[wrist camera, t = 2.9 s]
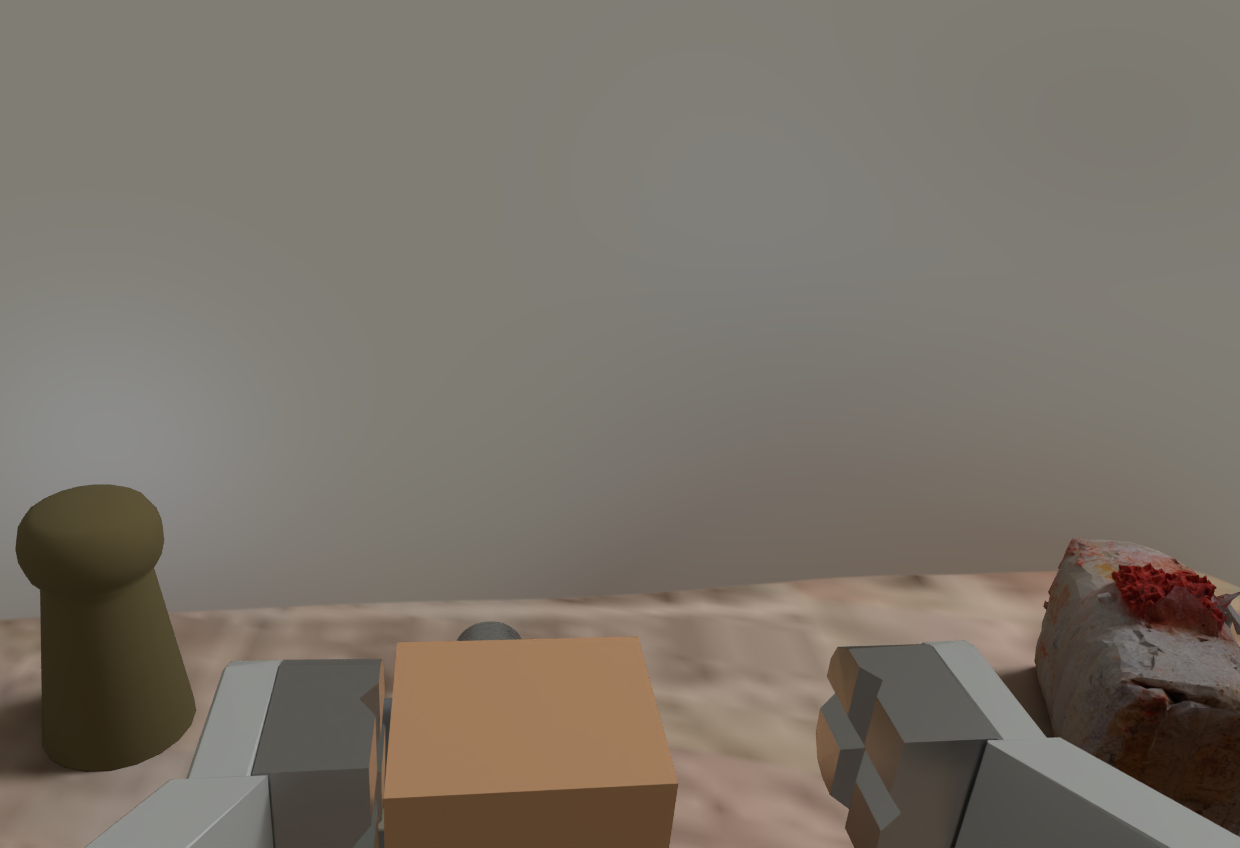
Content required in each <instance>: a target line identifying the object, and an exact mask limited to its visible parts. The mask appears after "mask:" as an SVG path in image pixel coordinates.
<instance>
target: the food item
mask: <svg viewBox="0 0 1240 848" xmlns="http://www.w3.org/2000/svg"><path fill="white" fill-rule="evenodd" d="M1058 569H1059V570H1058V573H1057V576H1056V577H1055V579H1054V581H1053V583H1052V585H1051V587H1050V589H1049V591H1048V593H1049V595H1050V598H1049V601H1048V602H1046V601H1045V603H1044V608H1045V609H1046V613H1045V616H1044V619H1043V622H1042V631H1041V633H1040V636H1039V638H1038V642H1037V646H1036V654H1035V664H1036V670H1037V677H1038V681H1039V685H1040V688H1041V691H1042V695H1043V697H1044V700H1045V703H1046V706H1047V709H1048V713H1049V717H1050V721H1051V724H1052V730H1053V734H1054V738H1058V737H1060V738H1062V739H1064V740H1065V741H1067V742H1069V743H1071V744H1073V745H1074V746H1076V747H1078V748H1080V749H1082V750H1083V751H1085V752H1087V753H1089V754H1091V755H1092V756H1094V757H1096V758H1098V759H1100V760H1101V761H1103V762H1105V763H1107V764H1109V765H1110V766H1112V767H1114V768H1116V769H1118V770H1120V771H1121V772H1123V773H1125V774H1127V775H1129V776H1130V777H1132V778H1134V779H1136V780H1138V781H1139V782H1141V783H1143V784H1145V785H1147V786H1148V787H1150V788H1152V789H1154V790H1156V791H1157V792H1159V793H1161V794H1163V795H1165V796H1166V797H1168V798H1170V799H1172V800H1174V801H1175V802H1177V803H1179V804H1181V805H1183V806H1184V807H1186V808H1188V809H1190V810H1192V811H1193V812H1195V813H1197V814H1199V815H1201V816H1202V817H1204V818H1206V819H1208V820H1210V821H1211V822H1213V823H1215V824H1217V825H1219V826H1220V827H1222V828H1224V829H1226V830H1228V831H1229V832H1231V833H1233V834H1235V835H1237V836H1239V837H1240V647H1239V645H1238V643H1237V642H1236V640H1235V638H1234V637H1233V635H1232V633H1231V631H1230V628H1231V624H1232V622H1233V624H1234V627H1235V630H1236V633H1237V634H1239V635H1240V617H1239V615H1238V614H1237V613H1236V611H1235V610H1234V609H1233V607H1232V606H1231V605H1230V603H1231V601H1232V600H1233V599H1234V598H1236V597H1237V596H1238V595H1240V592H1238V593H1235V594H1232V595H1231V594H1224V595H1221V596H1218V597H1216V596H1215V595H1214V590H1215V589H1216V586H1214V585H1213V584H1211V582H1210V581H1209V580H1208V581H1207V577H1206V576H1204V577H1203V578H1201V577H1199V575H1197V574H1196V573H1195V572H1194V571H1193V570H1192V569H1191V568H1188V567H1186V566H1185V565H1183V564H1182V563H1181V562H1179V561H1178V560H1176V559H1174V558H1172V557H1170V556H1168V555H1166V554H1164V553H1162V552H1159V551H1157V550H1154V549H1151V548H1148V547H1145V546H1142V545H1137V544H1134V543H1130V542H1127V541H1109V540H1085V539H1078V538H1077V539H1076V538H1074V539H1072V540H1071V542H1070V544H1069V545H1068V548H1067V550H1066V553H1065V555H1064V558H1063V560H1062V561H1061V563H1060V565H1059V567H1058ZM1225 596H1227V597H1225ZM1224 597H1225V598H1224Z"/></svg>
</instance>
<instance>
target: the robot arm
mask: <svg viewBox="0 0 1240 848" xmlns="http://www.w3.org/2000/svg"><path fill="white" fill-rule="evenodd" d="M827 678H828V680H829V682H830V683H831V685H832V687H833V689H834V691H835V694H834V695H833V696H832V697H831V698H830V699H829V700H828V701H827V702H826V703H825V704H824V705H823V706H822V707H821V708H820V712H819V718H818V724H817V729H816V744H817V759H818V763H819V767H820V771H821V774H822V778H823V780H824V782H825V785H826V787H827V789H828V791H829V794H830V795H831V796H832V797H833V798H835V799H836V800H837V801H839V802H840V803H842V804H843V805H844V806H846V807H847V808H848V809H849V813H848V817H847V821H846V826H845V829H846V831H847V833H848V835H849V837H850V839H851V842H852V844H853V846H854V848H1240V837H1239V836H1237V835H1235V834H1233V833H1231V832H1229V831H1228V830H1226V829H1224V828H1222V827H1220V826H1219V825H1217V824H1215V823H1213V822H1211V821H1210V820H1208V819H1206V818H1204V817H1202V816H1201V815H1199V814H1197V813H1195V812H1193V811H1192V810H1190V809H1188V808H1186V807H1184V806H1183V805H1181V804H1179V803H1177V802H1175V801H1174V800H1172V799H1170V798H1168V797H1166V796H1165V795H1163V794H1161V793H1159V792H1157V791H1156V790H1154V789H1152V788H1150V787H1148V786H1147V785H1145V784H1143V783H1141V782H1139V781H1138V780H1136V779H1134V778H1132V777H1130V776H1129V775H1127V774H1125V773H1123V772H1121V771H1120V770H1118V769H1116V768H1114V767H1112V766H1110V765H1109V764H1107V763H1105V762H1103V761H1101V760H1100V759H1098V758H1096V757H1094V756H1092V755H1091V754H1089V753H1087V752H1085V751H1083V750H1082V749H1080V748H1078V747H1076V746H1074V745H1073V744H1071V743H1069V742H1067V741H1065V740H1064V739H1062V738H1060V737H1058V738H1047V737H1046V736H1045V735H1044V734H1043V732H1042V731H1041V730H1040V728H1039V727H1038V726H1037V725H1036V723H1035V722H1034V721H1033V720H1032V718H1031V717H1030V716H1029V714H1028V713H1027V712H1026V711H1025V709H1024V708H1023V707H1022V706H1021V704H1020V703H1019V702H1018V700H1017V699H1016V698H1015V697H1014V695H1013V694H1012V693H1011V692H1010V690H1009V689H1008V688H1007V686H1006V685H1005V684H1004V683H1003V681H1002V680H1001V679H1000V678H999V676H998V675H997V674H996V672H995V671H994V670H993V669H992V667H991V666H990V665H989V664H988V662H987V661H986V660H985V658H984V657H983V656H982V655H981V653H980V652H979V651H978V650H977V648H976V647H975V646H974V645H972V644H970V643H968V642H966V641H965V640H960V641H942V642H924V643H922V644H909V645H879V646H849V647H837V649H836V651H835V652H834V654H833V656H832V657H831V661H830V665H829V670H828V674H827ZM384 692H385V690H384V666H383V659H332V660H283V662H282V661H279V660H265V661H231V662H230V663H229V664H228V665H227V666H226V667H225V669H224V670H223V672H222V675H221V677H220V680H219V683H218V686H217V689H216V692H215V695H214V698H213V701H212V704H211V707H210V710H209V713H208V716H207V719H206V722H205V725H204V728H203V731H202V734H201V736H200V739H199V742H198V745H197V748H196V751H195V754H194V757H193V760H192V763H191V766H190V769H189V772H188V775H187V778H186V779H176V780H169V781H168V782H167V783H165V784H164V785H163V786H162V787H160V788H159V789H158V790H157V791H155V792H154V793H153V794H151V795H150V796H149V797H148V798H146V799H145V800H144V801H143V802H141V803H140V804H139V805H138V806H136V807H135V808H134V809H133V810H131V811H130V812H129V813H128V814H126V815H125V816H124V817H123V818H121V819H120V820H119V821H117V822H116V823H115V824H114V825H112V826H111V827H110V828H109V829H107V830H106V831H105V832H104V833H102V834H101V835H100V836H99V837H97V838H96V839H95V840H94V841H92V842H91V843H90V844H89V845H87V846H86V847H85V848H379V840H378V824H379V823H380V822H381V821H382V813H383V800H384V781H385V725H384V724H383V723H382V715H383V704H384Z"/></svg>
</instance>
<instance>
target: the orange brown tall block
mask: <svg viewBox="0 0 1240 848" xmlns="http://www.w3.org/2000/svg"><path fill="white" fill-rule="evenodd" d="M677 788H678V781H677V777H676V774H675V770H674V766H673V763H672V759H671V755H670V752H669V748H668V744H667V741H666V737H665V733H664V730H663V726H662V723H661V719H660V715H659V712H658V708H657V704H656V701H655V697H654V693H653V690H652V686H651V682H650V679H649V675H648V672H647V668H646V664H645V661H644V657H643V653H642V650H641V646H640V642H639V639H638V637H601V638H560V639H519V640H479V641H438V642H397V652H396V663H395V674H394V686H393V697H392V709H391V720H390V731H389V743H388V754H387V765H386V777H385V788H384V846H385V848H669V844H670V837H671V830H672V823H673V816H674V809H675V802H676V795H677Z"/></svg>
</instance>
